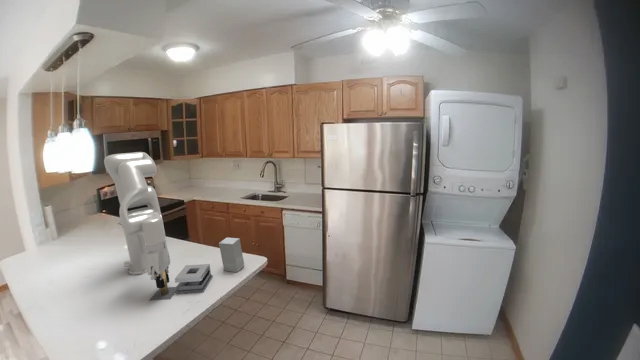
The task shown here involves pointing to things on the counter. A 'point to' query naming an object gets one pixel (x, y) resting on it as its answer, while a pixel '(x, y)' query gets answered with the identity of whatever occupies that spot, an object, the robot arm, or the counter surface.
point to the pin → (165, 289)
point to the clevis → (193, 279)
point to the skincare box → (231, 254)
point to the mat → (163, 297)
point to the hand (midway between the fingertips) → (163, 284)
